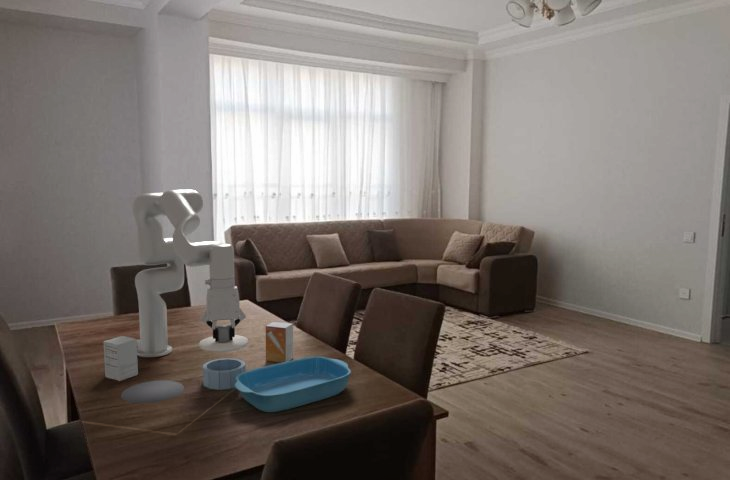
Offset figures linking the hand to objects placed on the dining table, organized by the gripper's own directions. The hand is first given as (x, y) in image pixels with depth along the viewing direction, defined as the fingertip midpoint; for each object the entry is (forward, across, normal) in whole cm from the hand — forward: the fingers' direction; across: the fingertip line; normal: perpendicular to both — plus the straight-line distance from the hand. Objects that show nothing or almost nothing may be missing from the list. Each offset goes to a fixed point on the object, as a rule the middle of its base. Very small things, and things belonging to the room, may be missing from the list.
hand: (223, 339), depth 178 cm
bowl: (+14, 0, 0) cm, 14 cm away
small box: (+15, +20, +19) cm, 31 cm away
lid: (+2, 0, 0) cm, 2 cm away
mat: (+14, -21, -2) cm, 26 cm away
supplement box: (+14, -32, +14) cm, 38 cm away
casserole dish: (+15, +20, -15) cm, 29 cm away
